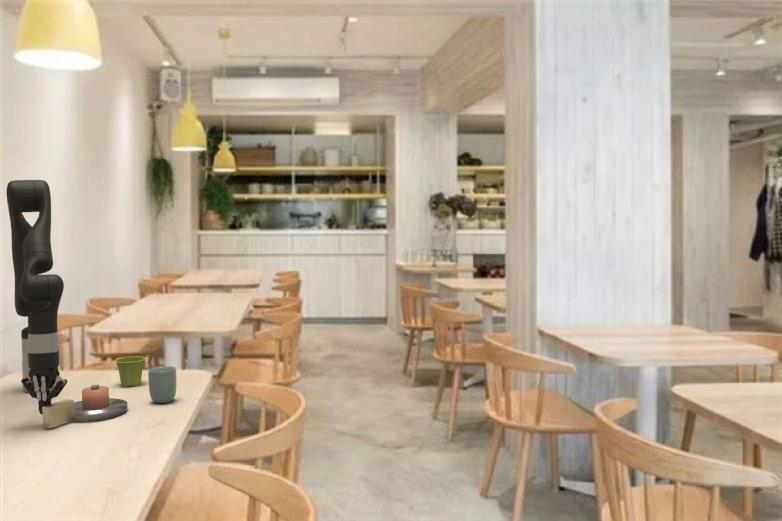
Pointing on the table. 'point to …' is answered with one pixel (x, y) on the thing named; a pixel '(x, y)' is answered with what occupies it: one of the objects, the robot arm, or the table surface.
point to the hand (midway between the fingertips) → (45, 413)
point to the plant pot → (130, 370)
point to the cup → (162, 384)
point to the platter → (79, 412)
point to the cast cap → (95, 397)
